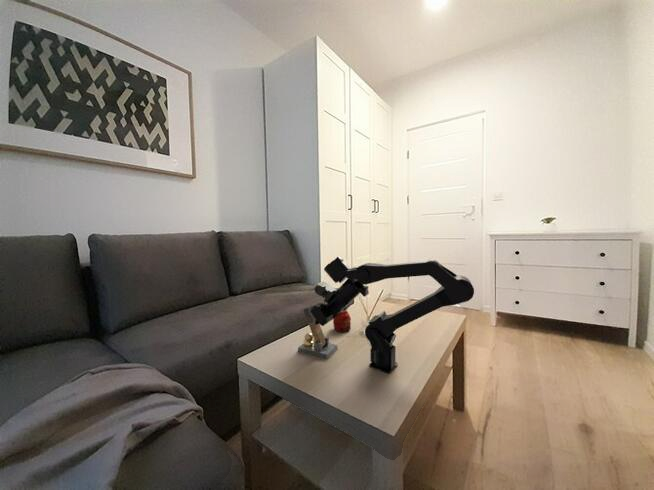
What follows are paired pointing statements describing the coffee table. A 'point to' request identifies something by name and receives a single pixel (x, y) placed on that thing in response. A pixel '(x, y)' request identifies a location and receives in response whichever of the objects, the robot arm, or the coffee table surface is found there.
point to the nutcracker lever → (314, 326)
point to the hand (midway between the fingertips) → (316, 322)
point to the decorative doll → (342, 322)
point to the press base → (317, 347)
